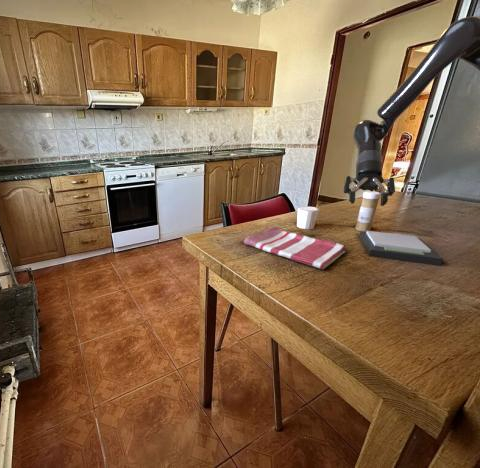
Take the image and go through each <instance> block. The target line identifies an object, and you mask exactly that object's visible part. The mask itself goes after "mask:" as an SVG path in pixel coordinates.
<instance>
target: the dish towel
mask: <svg viewBox="0 0 480 468" xmlns="http://www.w3.org/2000/svg"><path fill="white" fill-rule="evenodd" d="M243 244H244V245H246V246H250V247H252V248H256V249H259V250H261V251H264V252H267V253H270V254H273V255H276V256H280V257H284V258H287V259H289V260H292V261H295V262H297V263H301V264H304V265H307V266H310V267H314V268H317V269H320V270H324V269H325V268H327V267H329V266H330V265H331V264H332V263H334V262H335V261H336V260H338V259H339V258H340V257H341V256H342V255H343V254H345V253H346V246H345V245H344V244H341V243H337V242H334V241H331V240H326V239H321V238H313V237H310V236H307V235H304V234H300V233H294V232H289V231H285V230H282V229H279V228H278V227H276V226H274V225H273V226H271V227H269V228H267V229H266V230H263V231H261V232H258V233H254V234H251V235H249V236H247V237H246V238H245V239H244V240H243Z"/></svg>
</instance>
